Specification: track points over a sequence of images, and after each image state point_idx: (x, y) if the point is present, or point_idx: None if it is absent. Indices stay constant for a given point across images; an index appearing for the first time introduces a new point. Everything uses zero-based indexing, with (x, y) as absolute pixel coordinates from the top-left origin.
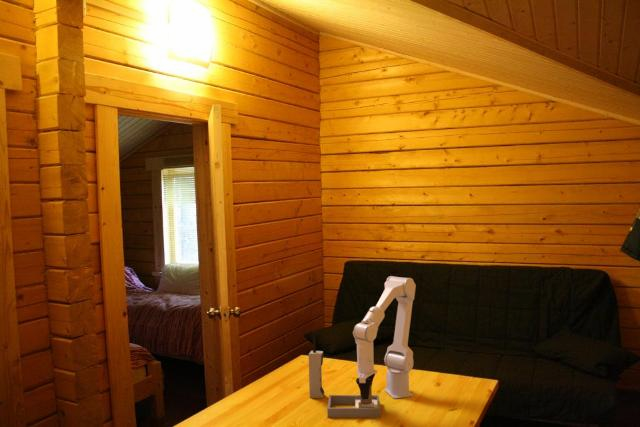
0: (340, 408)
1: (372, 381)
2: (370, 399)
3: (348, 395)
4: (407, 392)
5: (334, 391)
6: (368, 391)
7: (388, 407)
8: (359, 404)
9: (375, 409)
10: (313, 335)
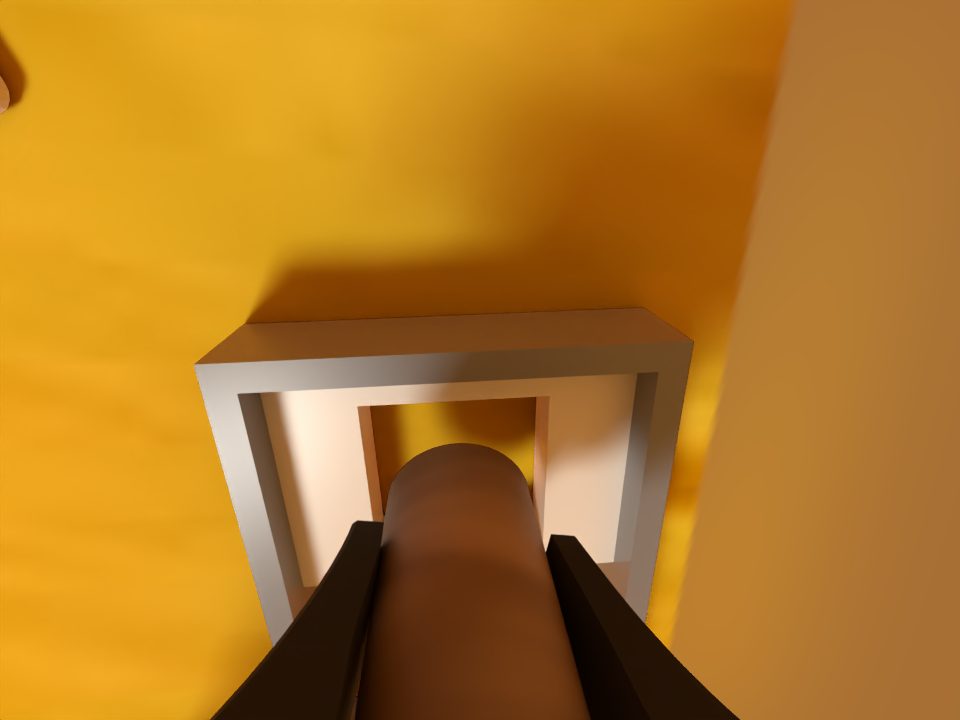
0: None
1: (268, 694)
2: (513, 492)
3: None
4: None
5: (41, 716)
6: (654, 643)
7: (353, 207)
8: None
9: (676, 397)
10: None
